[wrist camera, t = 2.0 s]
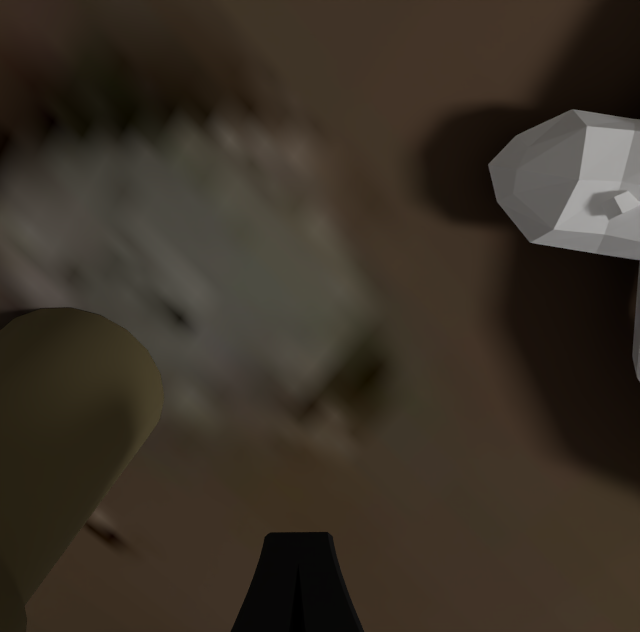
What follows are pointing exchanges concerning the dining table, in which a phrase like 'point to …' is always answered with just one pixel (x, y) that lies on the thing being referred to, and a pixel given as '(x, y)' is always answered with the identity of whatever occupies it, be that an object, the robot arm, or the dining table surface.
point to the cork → (63, 436)
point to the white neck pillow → (576, 187)
